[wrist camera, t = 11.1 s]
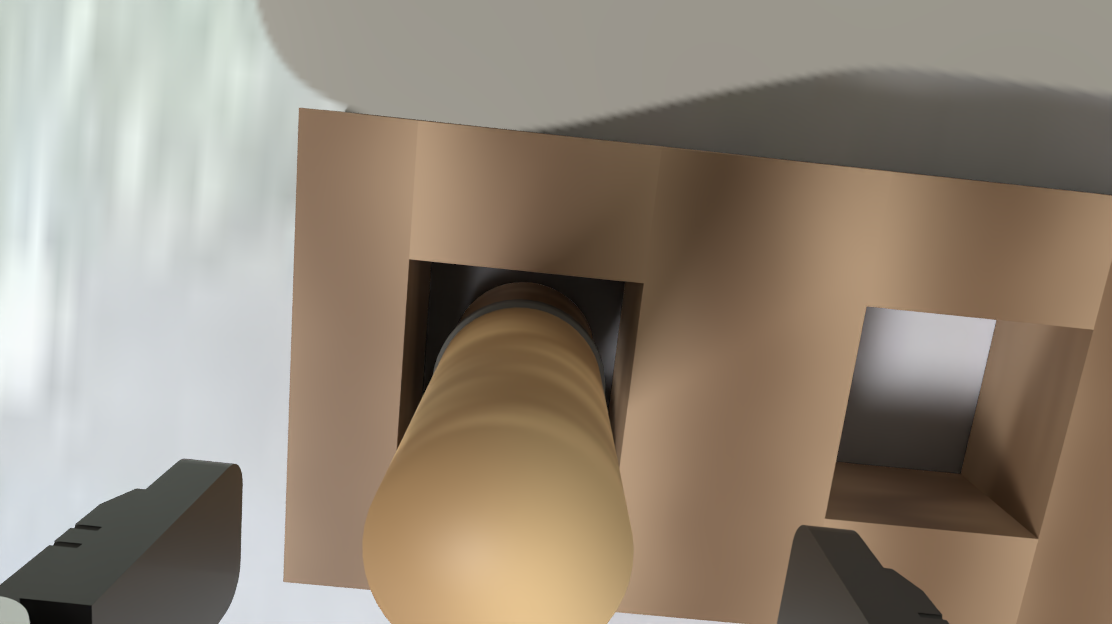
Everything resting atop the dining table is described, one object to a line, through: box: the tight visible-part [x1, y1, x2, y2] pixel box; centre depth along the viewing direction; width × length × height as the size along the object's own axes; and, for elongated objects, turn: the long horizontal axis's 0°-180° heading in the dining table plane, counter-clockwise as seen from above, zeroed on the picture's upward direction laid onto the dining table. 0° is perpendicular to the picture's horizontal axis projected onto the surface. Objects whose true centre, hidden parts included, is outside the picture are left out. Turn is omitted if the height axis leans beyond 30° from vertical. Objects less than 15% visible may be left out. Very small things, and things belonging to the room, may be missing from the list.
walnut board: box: [283, 108, 1112, 624], centre depth 22 cm, size 22×12×4 cm, turn 84°
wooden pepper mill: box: [362, 282, 634, 624], centre depth 18 cm, size 4×4×12 cm
